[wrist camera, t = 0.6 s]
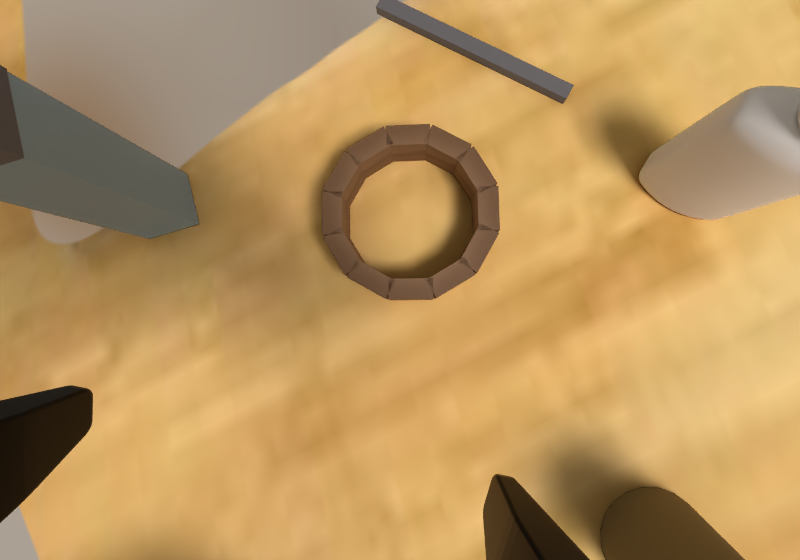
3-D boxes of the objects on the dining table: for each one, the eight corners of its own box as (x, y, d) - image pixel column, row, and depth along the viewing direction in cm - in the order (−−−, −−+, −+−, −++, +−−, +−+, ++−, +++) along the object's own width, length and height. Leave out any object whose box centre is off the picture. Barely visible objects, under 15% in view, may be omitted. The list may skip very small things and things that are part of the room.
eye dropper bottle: (686, 132, 24) (949, -41, 12) (736, 207, 23) (1063, 103, 12) (626, 166, 24) (828, 27, 12) (675, 242, 24) (936, 174, 12)
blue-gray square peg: (200, 224, 25) (-30, 137, 12) (148, 239, 26) (-131, 169, 13) (187, 173, 26) (-49, 37, 13) (137, 188, 26) (-148, 69, 13)
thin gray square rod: (562, 103, 25) (566, 98, 24) (377, 13, 26) (376, 6, 25) (570, 90, 25) (573, 85, 24) (384, 1, 26) (383, -7, 25)
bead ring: (442, 329, 24) (444, 331, 21) (303, 251, 25) (290, 245, 22) (519, 188, 24) (531, 174, 22) (380, 116, 25) (376, 95, 23)
